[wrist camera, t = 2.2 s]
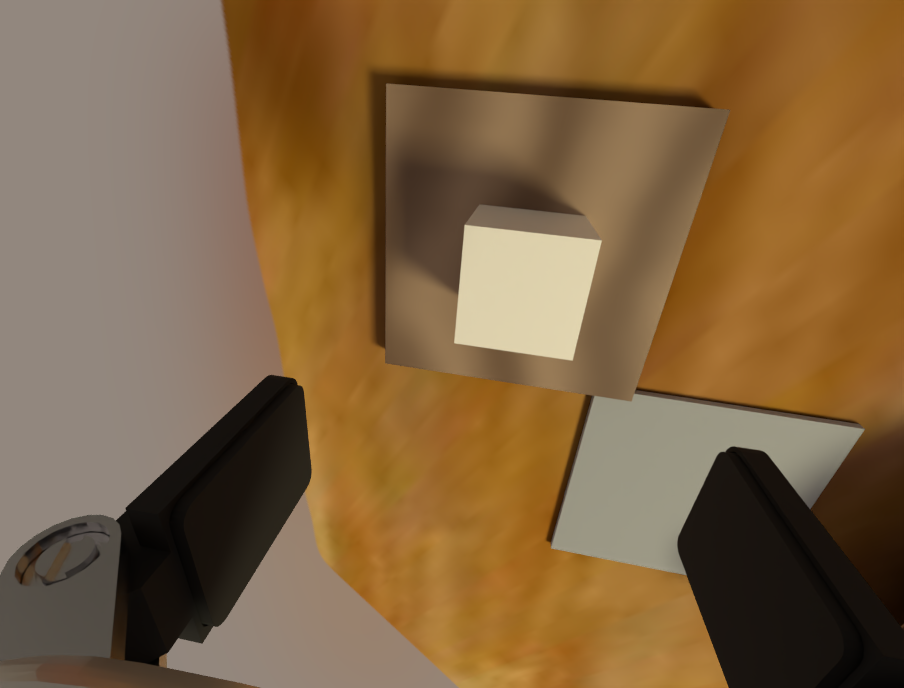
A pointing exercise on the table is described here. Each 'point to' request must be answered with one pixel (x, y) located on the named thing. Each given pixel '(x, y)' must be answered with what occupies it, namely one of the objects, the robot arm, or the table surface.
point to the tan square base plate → (542, 189)
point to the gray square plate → (677, 469)
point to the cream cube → (525, 280)
